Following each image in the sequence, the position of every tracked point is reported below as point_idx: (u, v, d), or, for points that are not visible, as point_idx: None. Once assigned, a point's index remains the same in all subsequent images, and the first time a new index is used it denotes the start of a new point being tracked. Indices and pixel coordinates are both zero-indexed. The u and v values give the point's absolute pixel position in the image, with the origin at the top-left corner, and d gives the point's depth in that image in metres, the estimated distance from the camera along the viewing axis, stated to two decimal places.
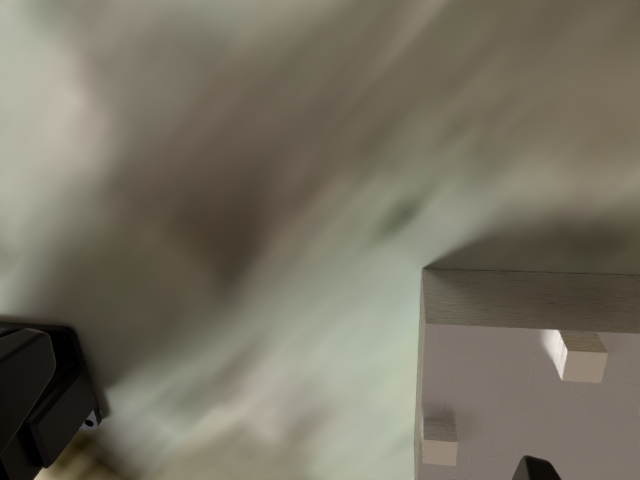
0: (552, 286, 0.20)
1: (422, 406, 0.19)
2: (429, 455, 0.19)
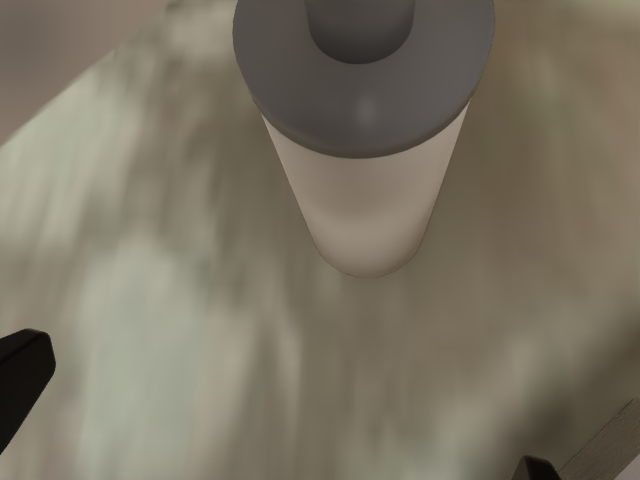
0: None
1: None
2: None
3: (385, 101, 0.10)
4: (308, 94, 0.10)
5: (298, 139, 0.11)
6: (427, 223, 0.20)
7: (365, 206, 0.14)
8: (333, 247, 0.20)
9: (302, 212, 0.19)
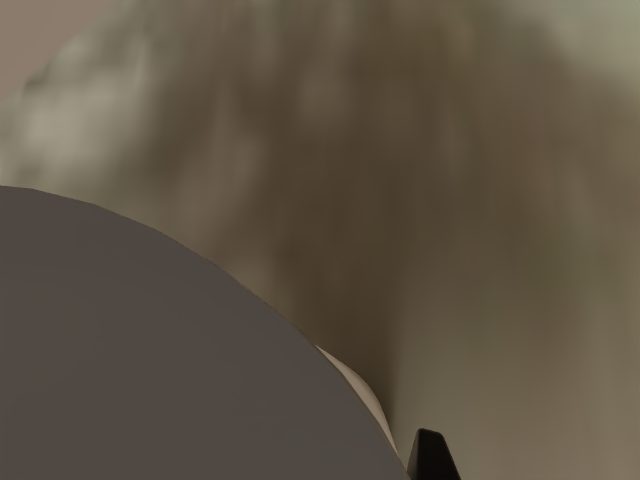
0: None
1: None
2: None
3: None
4: None
5: None
6: None
7: None
8: None
9: None
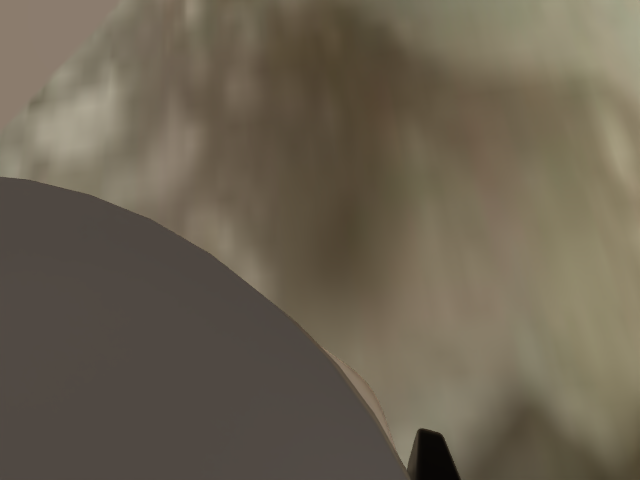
0: None
1: None
2: None
3: None
4: None
5: None
6: None
7: None
8: None
9: None
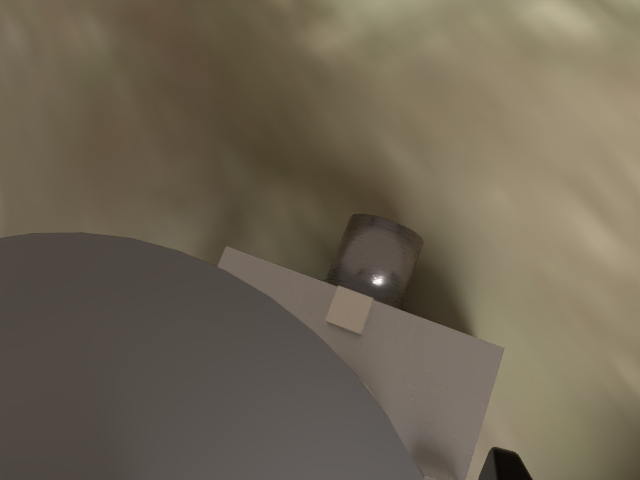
0: None
1: None
2: None
3: None
4: None
5: None
6: None
7: None
8: None
9: None
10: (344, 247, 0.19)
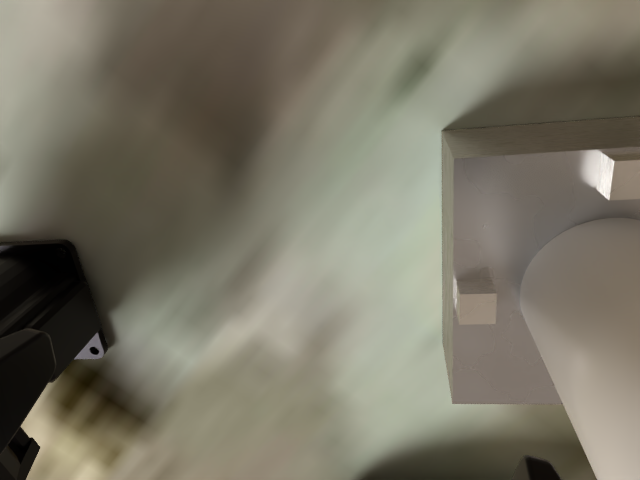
0: (585, 127, 0.18)
1: (454, 263, 0.18)
2: (466, 314, 0.17)
3: None
4: None
5: None
6: None
7: None
8: (558, 359, 0.14)
9: (605, 345, 0.12)
10: None
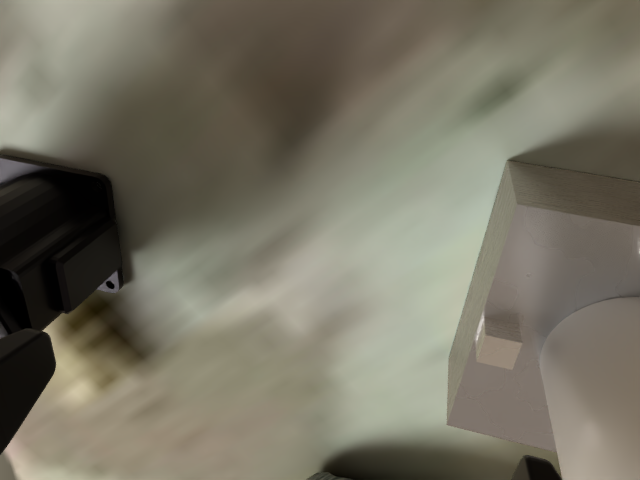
0: None
1: (487, 302, 0.18)
2: (486, 354, 0.17)
3: None
4: None
5: None
6: None
7: None
8: (569, 434, 0.14)
9: (623, 444, 0.12)
10: None
